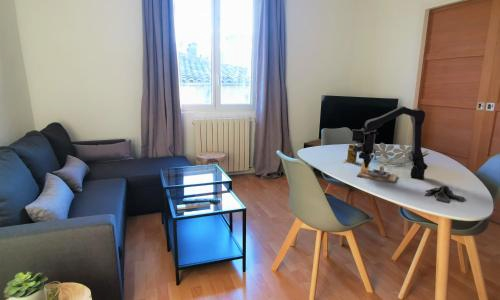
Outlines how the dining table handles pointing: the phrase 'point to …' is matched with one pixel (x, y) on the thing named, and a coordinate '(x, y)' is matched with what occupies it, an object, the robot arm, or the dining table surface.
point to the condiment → (351, 155)
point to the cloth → (444, 194)
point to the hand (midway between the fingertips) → (366, 167)
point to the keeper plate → (390, 177)
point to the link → (373, 171)
